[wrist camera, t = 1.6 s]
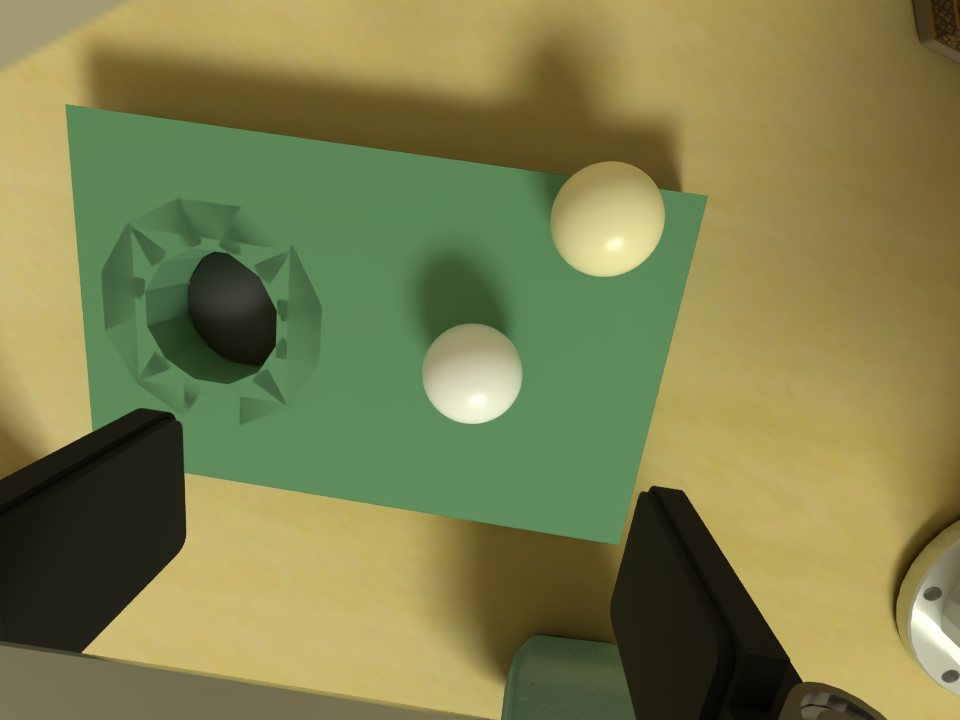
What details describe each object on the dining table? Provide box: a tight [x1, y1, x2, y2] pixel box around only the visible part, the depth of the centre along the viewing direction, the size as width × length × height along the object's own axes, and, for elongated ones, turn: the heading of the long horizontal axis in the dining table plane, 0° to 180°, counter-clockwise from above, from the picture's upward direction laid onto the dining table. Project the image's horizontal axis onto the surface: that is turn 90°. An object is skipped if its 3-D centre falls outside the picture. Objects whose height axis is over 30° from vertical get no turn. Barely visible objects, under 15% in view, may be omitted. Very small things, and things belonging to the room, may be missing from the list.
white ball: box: [422, 323, 523, 424], centre depth 20 cm, size 4×4×4 cm
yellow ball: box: [550, 161, 665, 277], centre depth 18 cm, size 4×4×4 cm
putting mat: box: [66, 104, 708, 545], centre depth 24 cm, size 26×16×3 cm, turn 82°
